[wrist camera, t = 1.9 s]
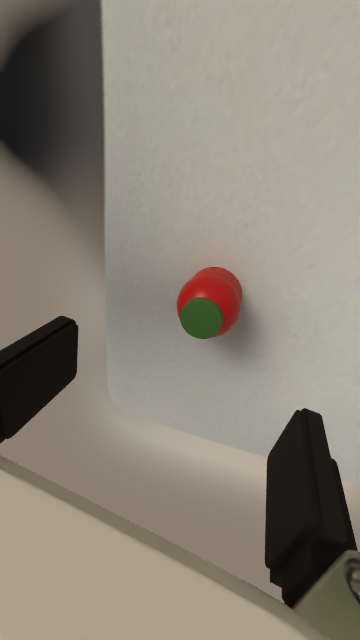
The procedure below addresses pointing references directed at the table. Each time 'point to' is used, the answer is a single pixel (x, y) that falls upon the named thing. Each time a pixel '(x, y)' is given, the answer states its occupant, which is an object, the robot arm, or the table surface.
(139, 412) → the table surface
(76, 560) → the robot arm
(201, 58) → the table surface
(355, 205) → the table surface
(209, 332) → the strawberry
